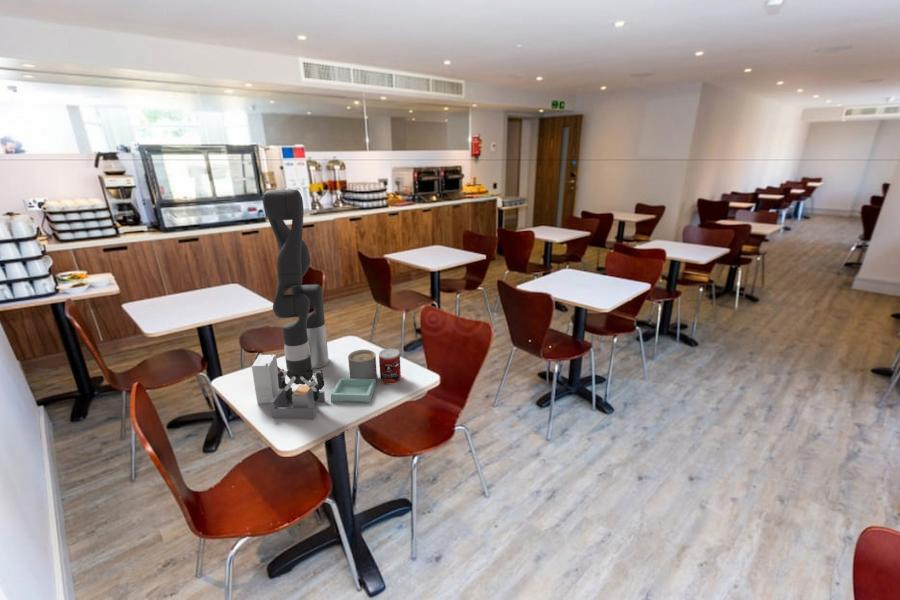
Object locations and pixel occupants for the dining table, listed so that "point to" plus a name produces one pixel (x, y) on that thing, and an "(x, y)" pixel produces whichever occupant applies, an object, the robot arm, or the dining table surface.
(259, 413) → the dining table surface
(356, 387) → the tray
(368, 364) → the coffee mug
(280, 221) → the robot arm
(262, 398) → the skincare box
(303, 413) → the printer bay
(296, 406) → the grey block tan panel
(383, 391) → the dining table surface
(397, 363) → the canned food
